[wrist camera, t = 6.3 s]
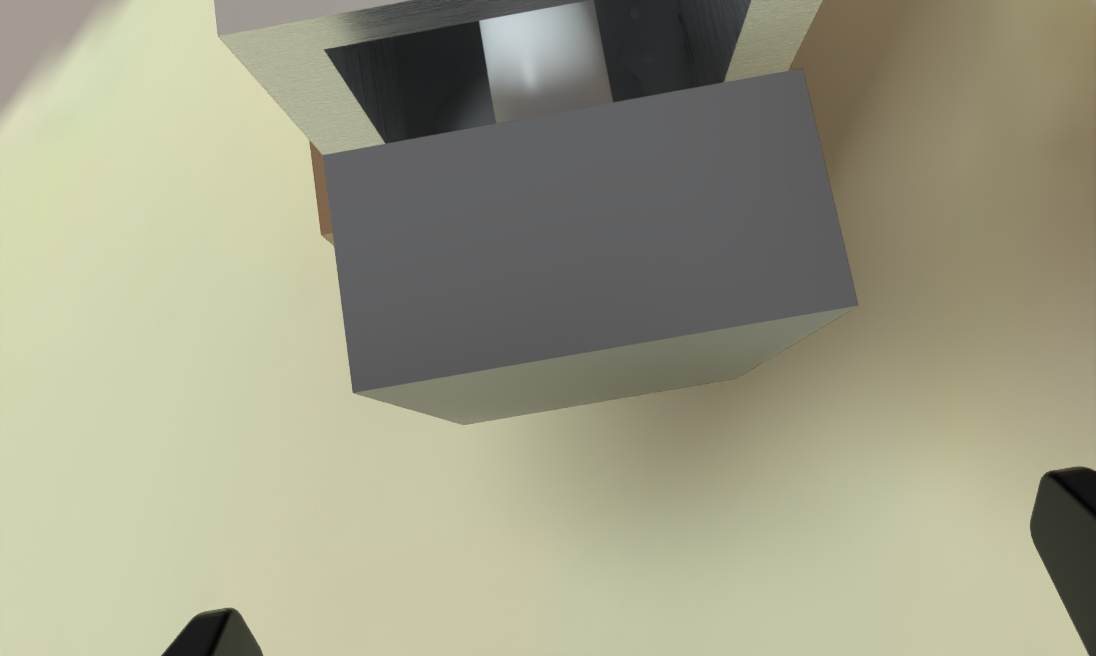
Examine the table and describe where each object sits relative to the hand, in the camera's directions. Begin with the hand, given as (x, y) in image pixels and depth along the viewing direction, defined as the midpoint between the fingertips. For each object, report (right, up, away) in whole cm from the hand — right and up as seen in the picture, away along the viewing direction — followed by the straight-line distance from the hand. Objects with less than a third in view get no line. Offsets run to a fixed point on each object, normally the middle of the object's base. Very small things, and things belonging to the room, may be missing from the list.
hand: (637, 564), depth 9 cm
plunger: (-1, +5, +6) cm, 8 cm away
